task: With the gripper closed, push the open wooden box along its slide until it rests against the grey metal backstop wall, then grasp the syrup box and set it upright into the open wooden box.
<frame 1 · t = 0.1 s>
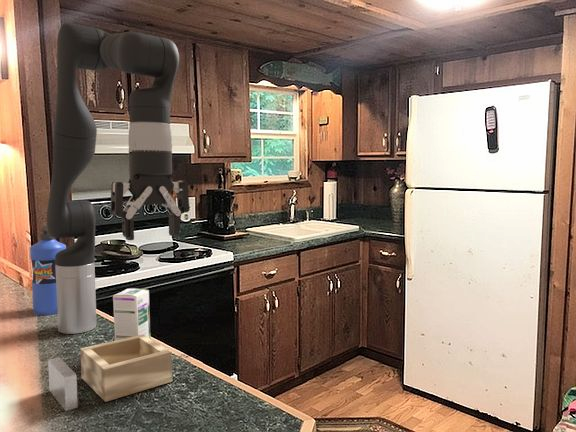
hand: (152, 237, 89), 29 cm above the counter, fingers open, 8 cm apart
backstop wall: (63, 398, 88), on the counter
water bottle: (50, 311, 141), on the counter
syrup box: (133, 355, 109), on the counter
open wooden box: (125, 364, 95), point 3 cm above the counter, slide at 4.0 cm
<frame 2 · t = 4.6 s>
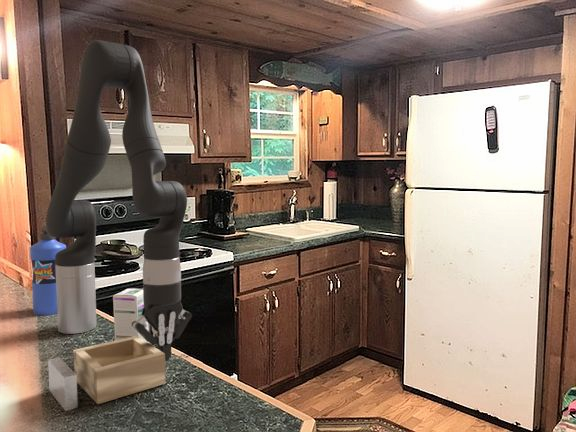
hand: (163, 360, 101), 2 cm above the counter, fingers closed
open wooden box: (119, 366, 94), point 3 cm above the counter, slide at 2.6 cm, touching gripper
everything else where it was.
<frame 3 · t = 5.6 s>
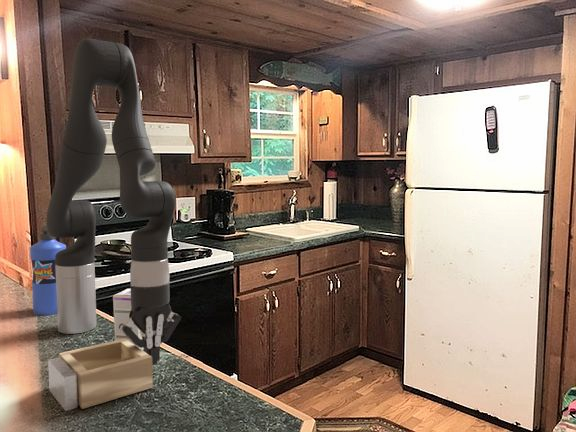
hand: (151, 363, 99), 2 cm above the counter, fingers closed
open wooden box: (105, 370, 93), point 3 cm above the counter, slide at 0.0 cm, touching gripper
everything else where it was.
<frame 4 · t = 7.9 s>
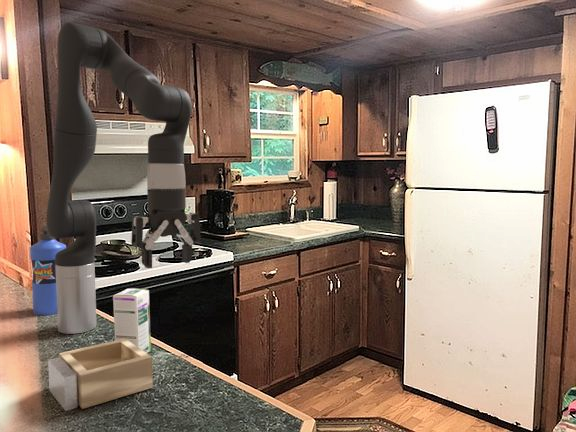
hand: (167, 264, 100), 22 cm above the counter, fingers open, 8 cm apart
open wooden box: (105, 370, 93), point 3 cm above the counter, slide at 0.0 cm
everything else where it was.
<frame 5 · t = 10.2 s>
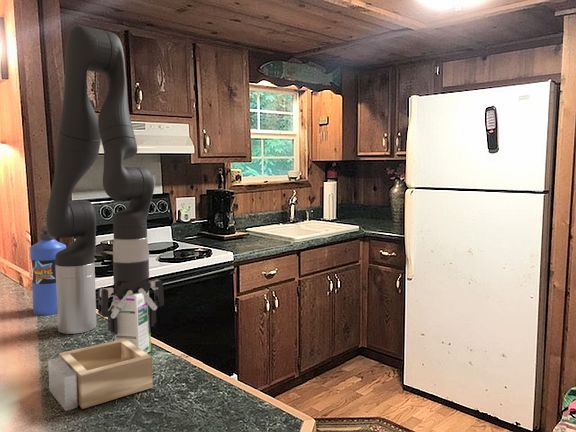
hand: (132, 329, 108), 6 cm above the counter, fingers closed on syrup box, 8 cm apart
syrup box: (133, 355, 109), on the counter, touching gripper
everything else where it was.
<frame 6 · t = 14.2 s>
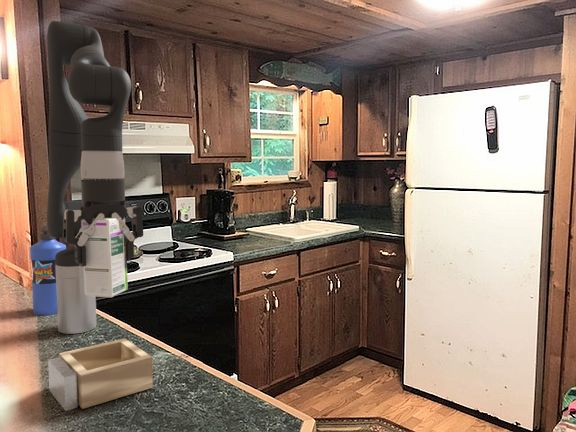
hand: (105, 262, 91), 24 cm above the counter, fingers closed on syrup box, 8 cm apart
syrup box: (106, 293, 92), point 18 cm above the counter, touching gripper
everything else where it was.
when the fingers open (8 cm above the counter, at t = 17.9 s): syrup box drops 1 cm, resting on open wooden box.
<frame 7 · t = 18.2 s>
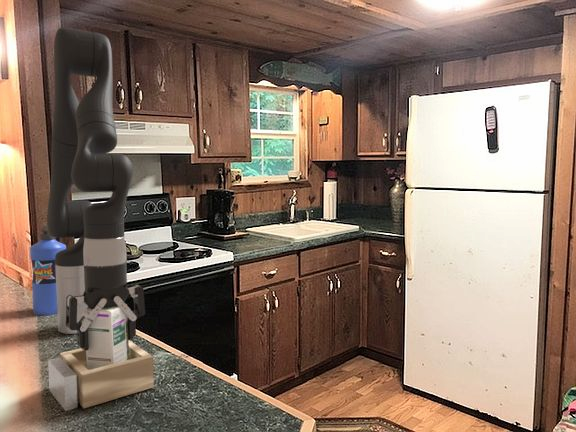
hand: (107, 343, 93), 8 cm above the counter, fingers open, 8 cm apart
syrup box: (108, 379, 94), point 1 cm above the counter, touching open wooden box
open wooden box: (106, 370, 93), point 3 cm above the counter, slide at 0.3 cm, touching syrup box
everything else where it was.
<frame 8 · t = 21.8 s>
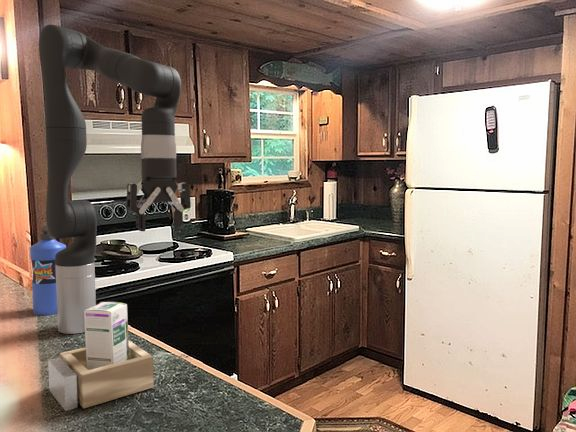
hand: (160, 229, 108), 28 cm above the counter, fingers open, 8 cm apart
nothing on the counter moved.
at the end: open wooden box slide at 0.2 cm; syrup box 0.5 cm off-centre on the open wooden box, point 0.8 cm above the open wooden box's base; syrup box tilted 0° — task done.
